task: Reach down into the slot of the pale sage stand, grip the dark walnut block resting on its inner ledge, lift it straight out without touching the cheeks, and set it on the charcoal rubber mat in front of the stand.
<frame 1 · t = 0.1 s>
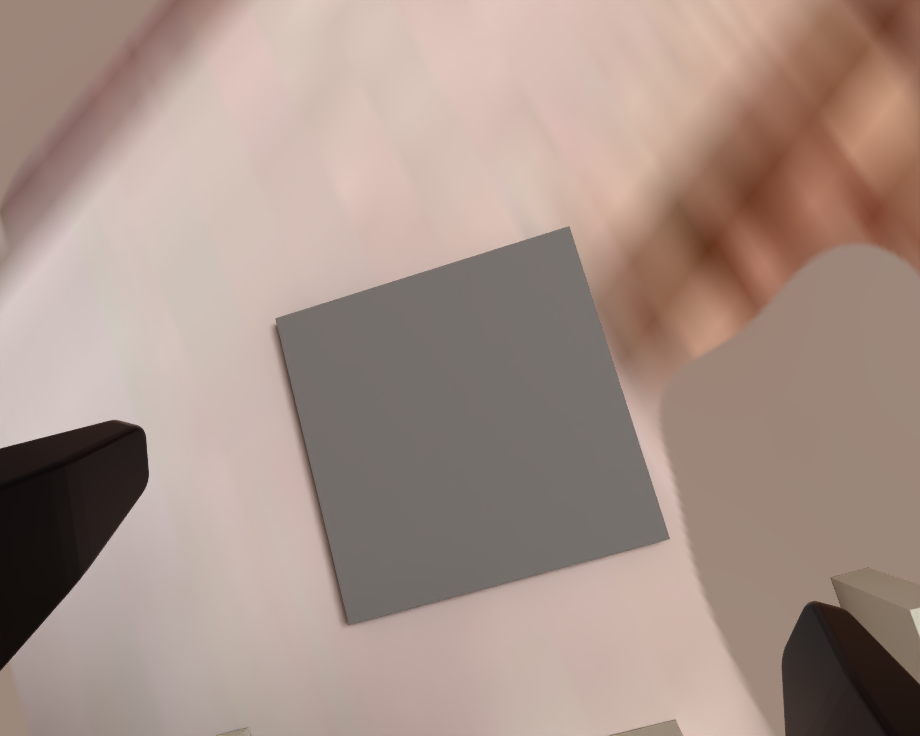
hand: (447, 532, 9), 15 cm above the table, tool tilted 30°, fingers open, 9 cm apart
rubber mat: (463, 423, 24), on the table
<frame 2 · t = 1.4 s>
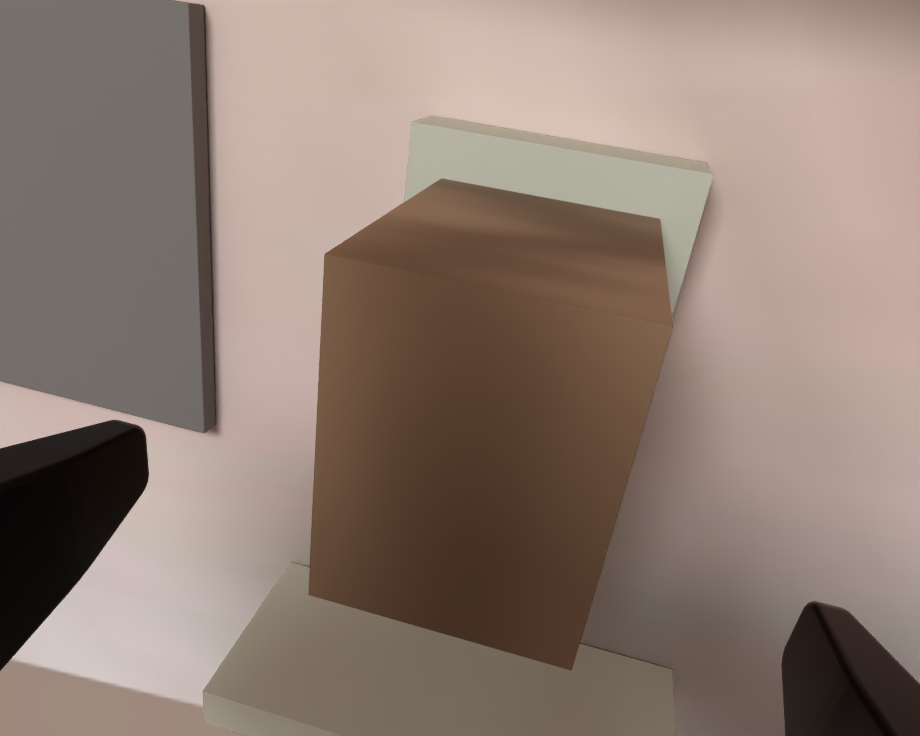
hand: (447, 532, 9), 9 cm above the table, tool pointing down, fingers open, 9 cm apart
rubber mat: (25, 203, 19), on the table
slot stand: (531, 310, 17), on the table
walnut block: (522, 332, 15), point 1 cm above the table, touching slot stand
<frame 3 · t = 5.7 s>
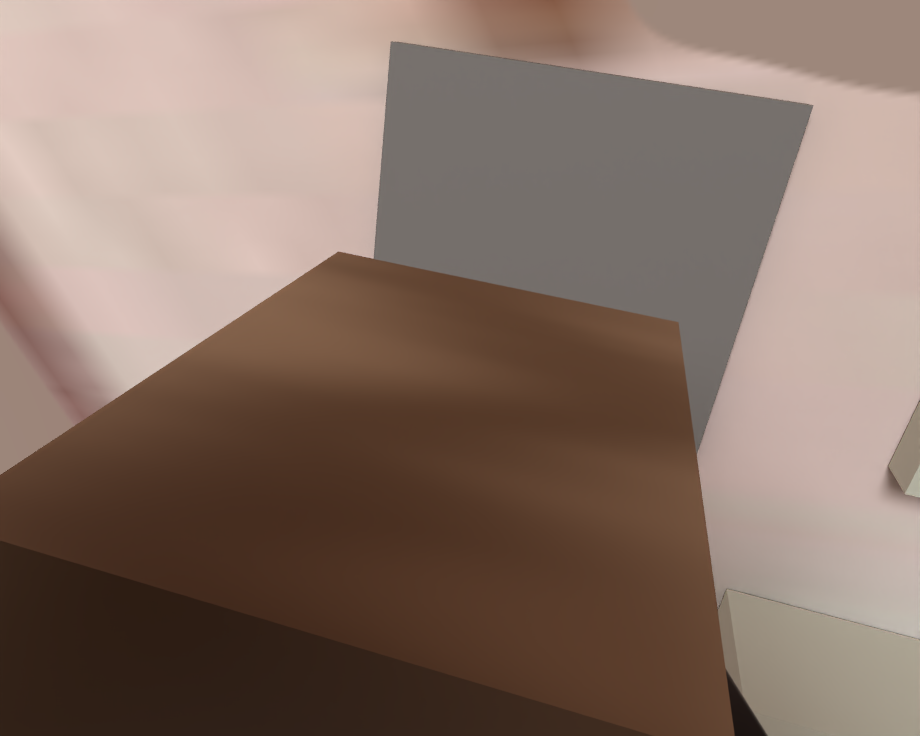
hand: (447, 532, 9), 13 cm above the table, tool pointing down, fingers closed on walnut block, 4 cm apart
rubber mat: (554, 268, 21), on the table
walnut block: (469, 476, 10), point 12 cm above the table, touching gripper
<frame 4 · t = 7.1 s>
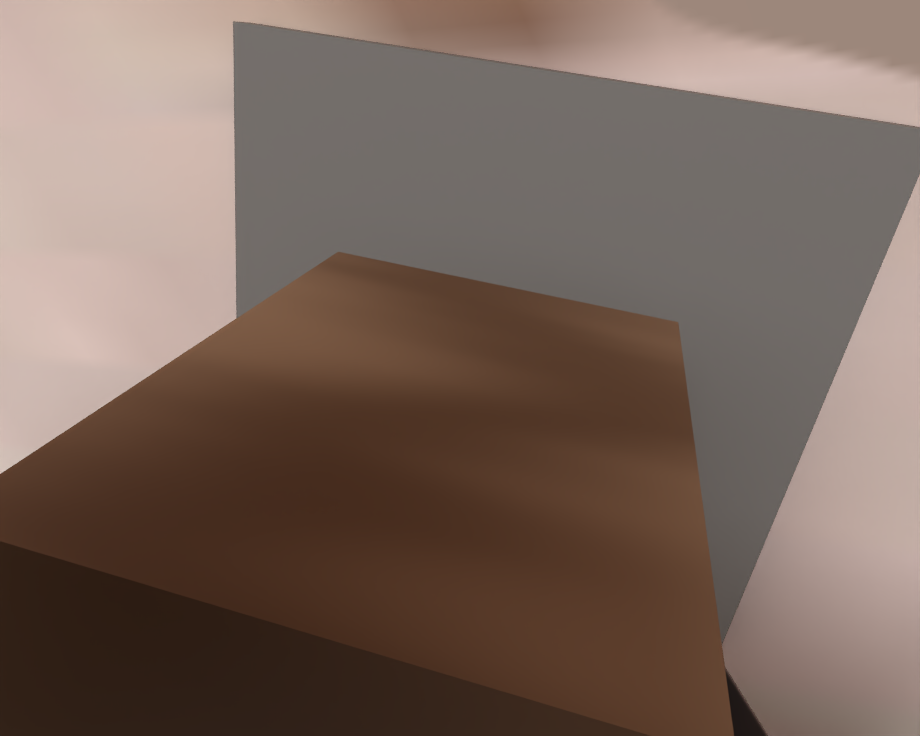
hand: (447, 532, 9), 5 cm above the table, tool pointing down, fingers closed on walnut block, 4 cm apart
rubber mat: (507, 371, 14), on the table
walnut block: (469, 476, 10), point 4 cm above the table, touching gripper
when the fingers open (3 cm above the table, at t = 8.3 s): walnut block drops 1 cm, resting on rubber mat.
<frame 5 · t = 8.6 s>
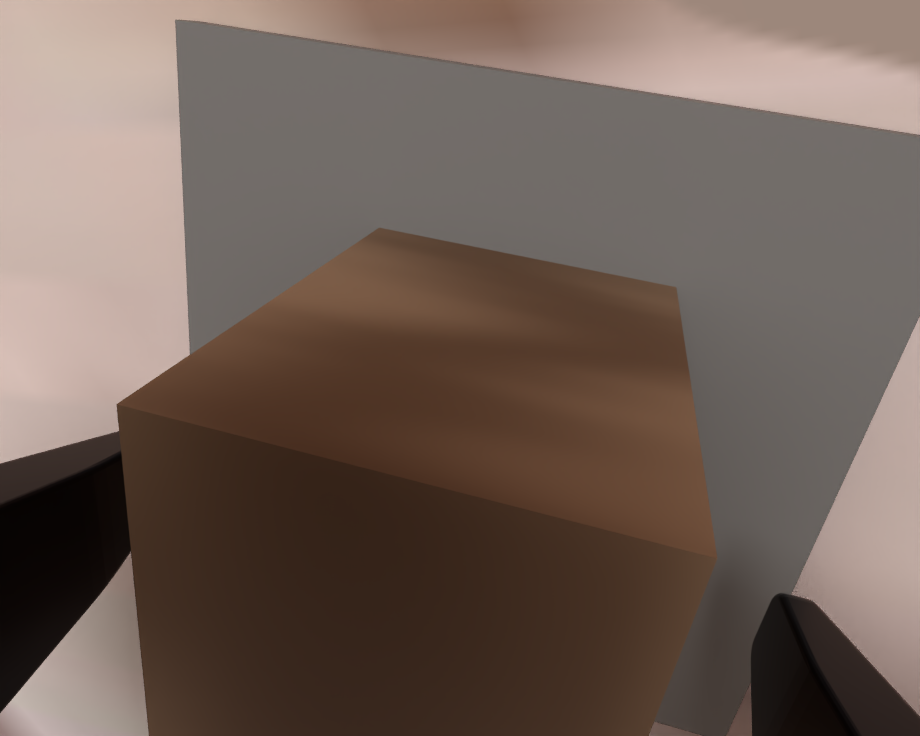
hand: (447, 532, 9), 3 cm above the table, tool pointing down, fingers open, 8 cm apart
rubber mat: (493, 413, 12), on the table
walnut block: (491, 428, 12), point 1 cm above the table, touching rubber mat
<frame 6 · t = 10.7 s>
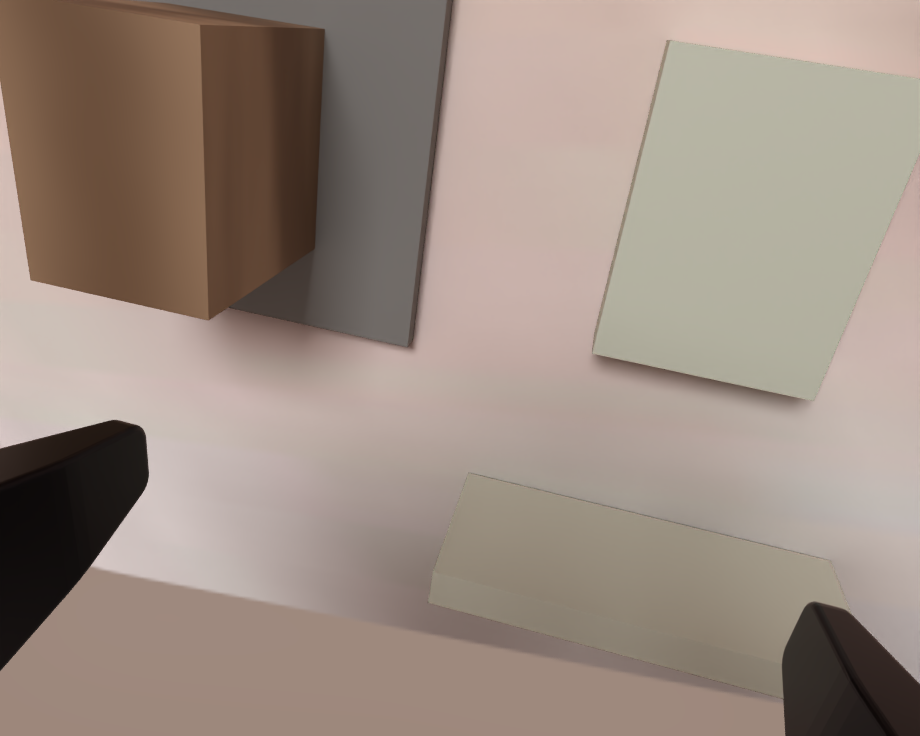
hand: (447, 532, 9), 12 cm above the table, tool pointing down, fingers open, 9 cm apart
rubber mat: (252, 131, 20), on the table
slot stand: (739, 221, 18), on the table
walnut block: (245, 132, 20), point 1 cm above the table, touching rubber mat
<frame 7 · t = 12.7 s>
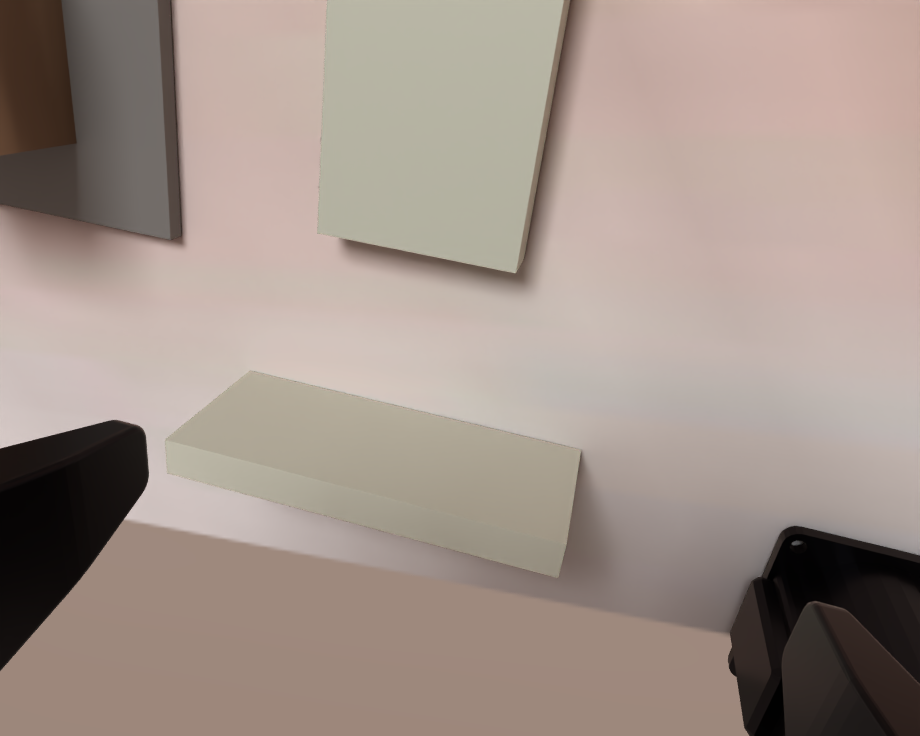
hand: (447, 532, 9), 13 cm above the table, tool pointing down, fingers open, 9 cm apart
rubber mat: (14, 31, 22), on the table
slot stand: (444, 102, 20), on the table
walnut block: (0, 29, 21), point 1 cm above the table, touching rubber mat
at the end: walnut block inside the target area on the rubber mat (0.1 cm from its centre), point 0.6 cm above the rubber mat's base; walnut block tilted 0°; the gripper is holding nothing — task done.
